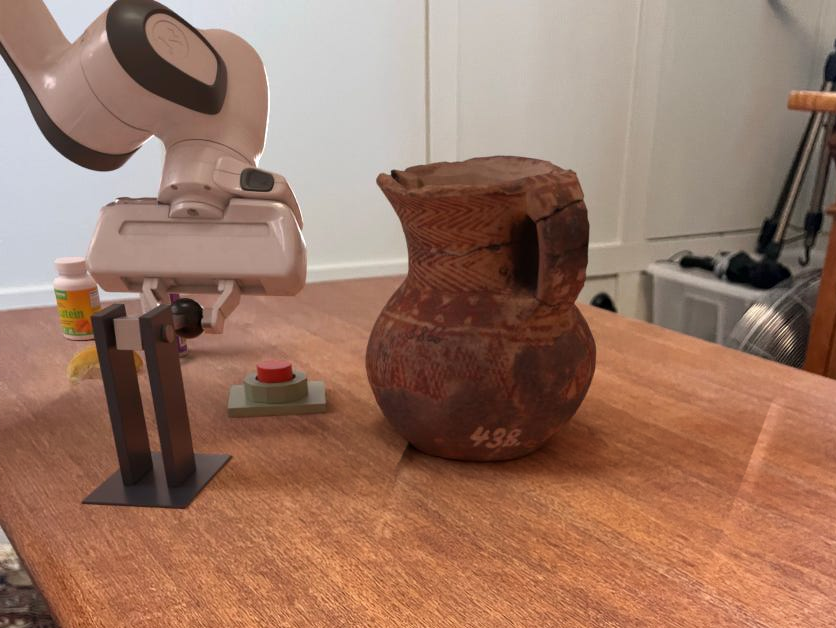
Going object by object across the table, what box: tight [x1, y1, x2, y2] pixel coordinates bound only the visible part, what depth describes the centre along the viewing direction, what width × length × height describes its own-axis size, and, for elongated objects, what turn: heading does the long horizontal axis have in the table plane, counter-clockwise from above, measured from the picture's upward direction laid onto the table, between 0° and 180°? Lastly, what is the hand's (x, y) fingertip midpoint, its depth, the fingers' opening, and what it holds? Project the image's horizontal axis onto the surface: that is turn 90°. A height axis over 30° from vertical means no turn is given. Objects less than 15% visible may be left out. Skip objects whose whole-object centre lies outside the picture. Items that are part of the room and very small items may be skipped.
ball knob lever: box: [113, 297, 205, 352], centre depth 88 cm, size 14×4×4 cm, turn 173°
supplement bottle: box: [52, 256, 103, 341], centre depth 133 cm, size 5×5×10 cm
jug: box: [364, 154, 597, 463], centre depth 95 cm, size 22×21×25 cm
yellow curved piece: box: [66, 344, 144, 386], centre depth 118 cm, size 8×9×4 cm
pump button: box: [256, 359, 293, 383], centre depth 106 cm, size 4×4×2 cm
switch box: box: [226, 368, 328, 418], centre depth 107 cm, size 10×8×4 cm
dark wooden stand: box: [81, 303, 233, 510], centre depth 86 cm, size 12×9×16 cm
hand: (185, 330), depth 92 cm, fingers closed on ball knob lever, 3 cm apart
